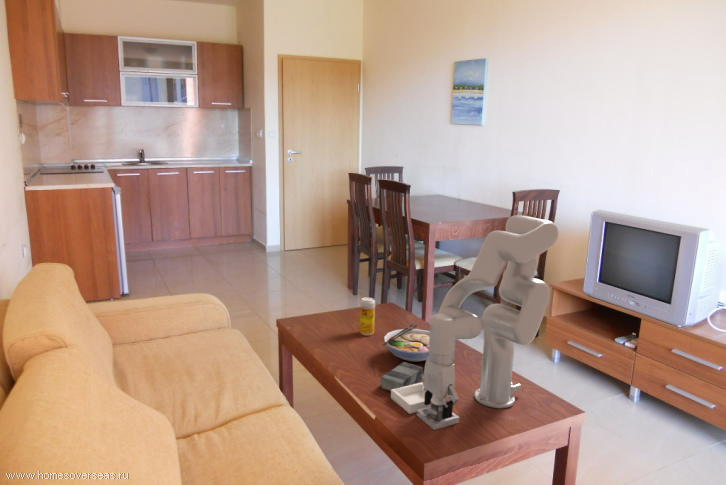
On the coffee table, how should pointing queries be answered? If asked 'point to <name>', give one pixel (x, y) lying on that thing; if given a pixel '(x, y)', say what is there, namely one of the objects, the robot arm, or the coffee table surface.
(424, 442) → the coffee table surface
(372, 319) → the glass of beer
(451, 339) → the robot arm
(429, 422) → the square open frame
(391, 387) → the stone block
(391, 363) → the coffee table surface
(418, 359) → the ramen bowl
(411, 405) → the tray
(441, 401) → the pill bottle
